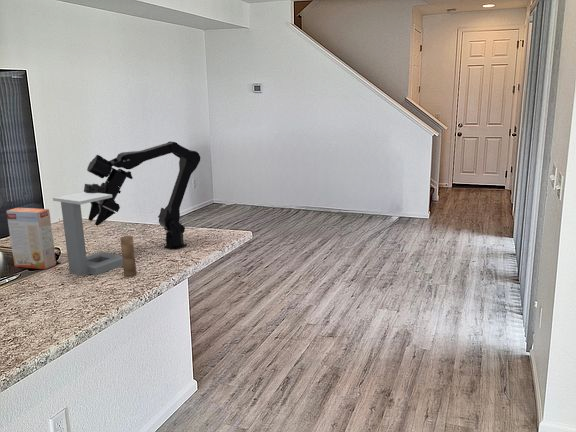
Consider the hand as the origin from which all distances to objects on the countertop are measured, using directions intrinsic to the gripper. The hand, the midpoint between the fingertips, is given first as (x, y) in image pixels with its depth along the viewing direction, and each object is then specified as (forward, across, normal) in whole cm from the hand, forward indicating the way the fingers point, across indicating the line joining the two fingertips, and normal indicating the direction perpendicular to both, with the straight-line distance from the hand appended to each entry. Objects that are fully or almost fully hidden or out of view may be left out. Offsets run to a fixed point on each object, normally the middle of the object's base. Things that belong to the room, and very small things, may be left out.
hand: (92, 222), depth 189 cm
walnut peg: (+9, +22, +12) cm, 27 cm away
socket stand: (+13, +7, +6) cm, 16 cm away
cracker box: (+23, -9, -8) cm, 26 cm away
